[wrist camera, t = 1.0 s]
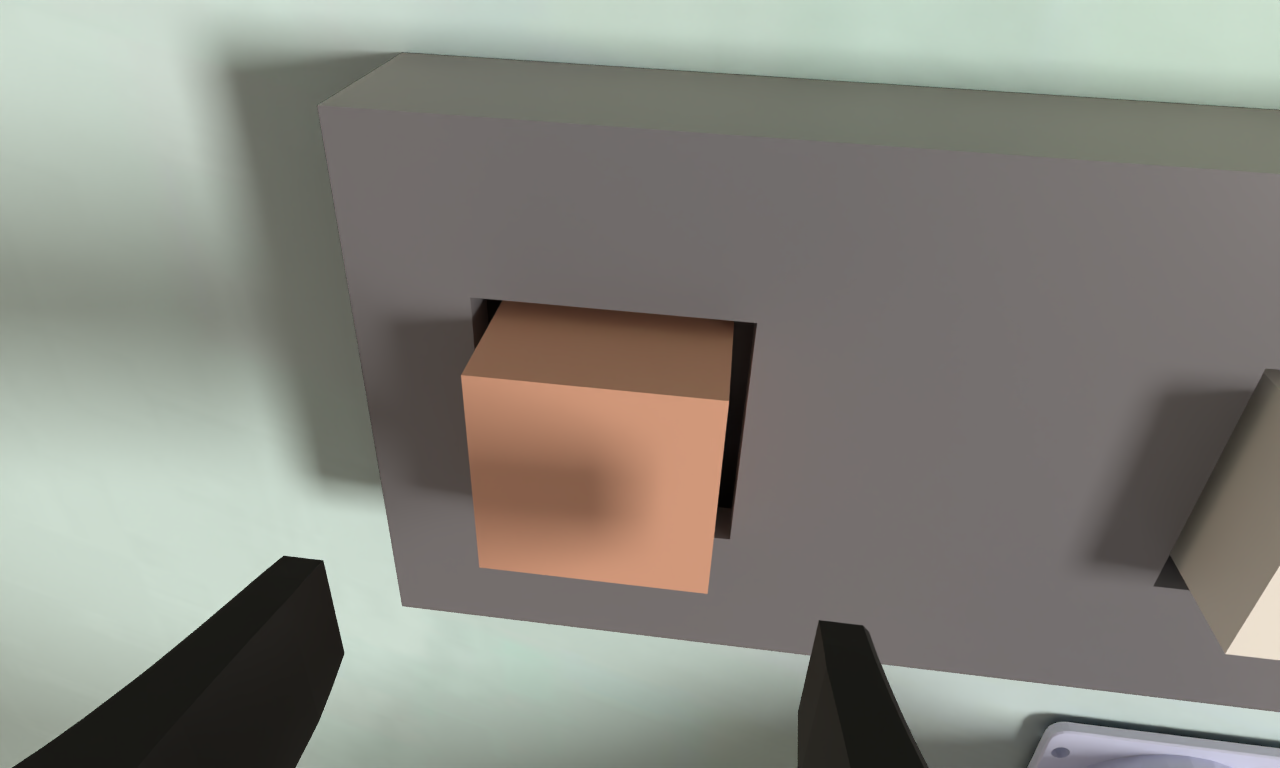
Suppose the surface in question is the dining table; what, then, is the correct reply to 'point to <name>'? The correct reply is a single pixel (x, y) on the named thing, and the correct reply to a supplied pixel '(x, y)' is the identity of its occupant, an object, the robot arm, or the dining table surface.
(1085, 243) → the panel
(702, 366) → the terracotta key
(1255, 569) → the off-white key
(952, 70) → the dining table surface
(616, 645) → the dining table surface
